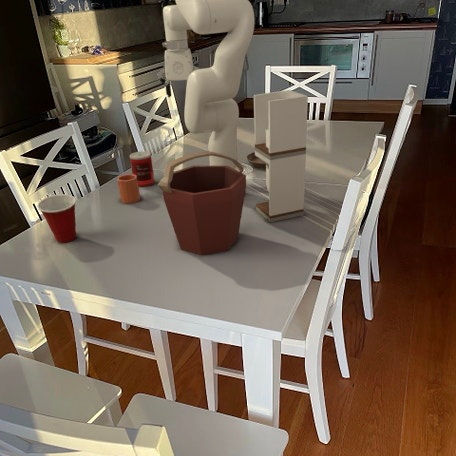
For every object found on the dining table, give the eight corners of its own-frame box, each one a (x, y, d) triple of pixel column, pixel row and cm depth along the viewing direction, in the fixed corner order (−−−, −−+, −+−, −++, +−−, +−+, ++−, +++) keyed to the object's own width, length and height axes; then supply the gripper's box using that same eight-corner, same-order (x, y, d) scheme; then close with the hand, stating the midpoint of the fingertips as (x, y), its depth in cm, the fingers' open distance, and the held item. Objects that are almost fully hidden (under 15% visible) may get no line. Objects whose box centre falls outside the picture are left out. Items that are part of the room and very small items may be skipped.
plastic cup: (46, 249, 138) (35, 211, 131) (48, 234, 146) (37, 197, 140) (85, 243, 140) (75, 205, 133) (84, 228, 149) (75, 192, 142)
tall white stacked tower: (287, 203, 157) (289, 89, 138) (303, 215, 148) (307, 96, 130) (256, 209, 154) (253, 94, 135) (270, 222, 145) (269, 101, 126)
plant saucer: (241, 169, 188) (240, 161, 186) (253, 155, 202) (253, 148, 200) (285, 171, 182) (285, 164, 181) (295, 157, 196) (295, 150, 195)
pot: (140, 202, 164) (136, 179, 160) (120, 204, 164) (116, 181, 159) (140, 195, 170) (136, 173, 166) (121, 197, 169) (117, 175, 165)
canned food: (144, 178, 185) (140, 150, 179) (159, 182, 180) (155, 153, 174) (129, 184, 180) (124, 155, 174) (143, 188, 175) (139, 159, 169)
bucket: (171, 265, 126) (159, 173, 112) (158, 231, 144) (146, 148, 130) (259, 249, 131) (257, 159, 118) (235, 218, 149) (231, 137, 136)
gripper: (151, 47, 168) (157, 99, 177) (199, 45, 166) (204, 97, 175) (155, 45, 174) (161, 95, 183) (202, 43, 172) (206, 93, 181)
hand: (182, 96), depth 179 cm, fingers open, 9 cm apart
